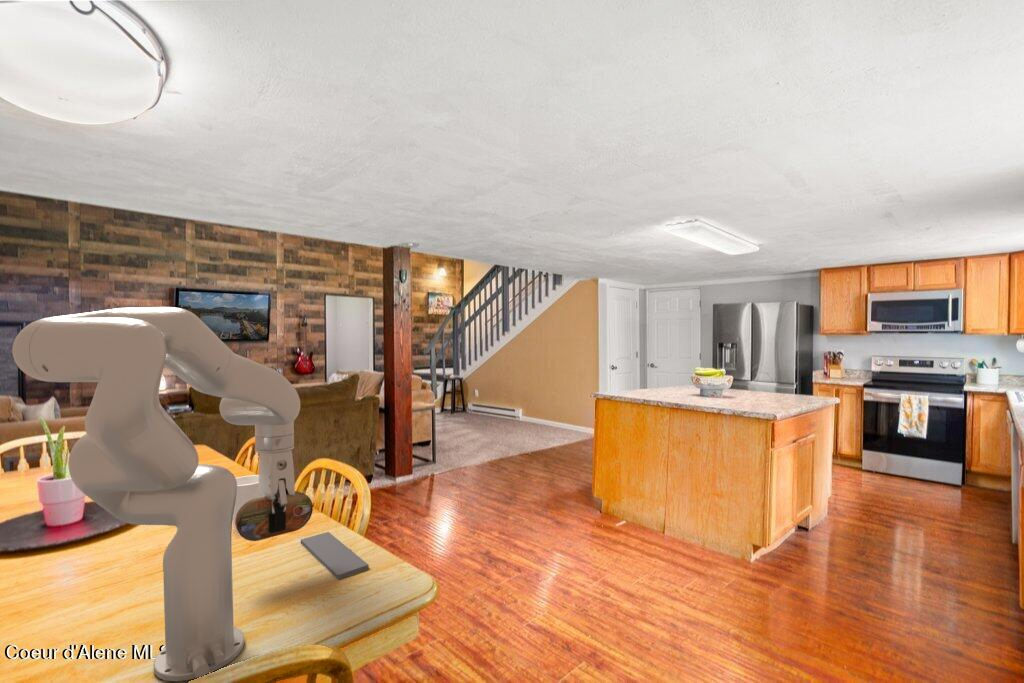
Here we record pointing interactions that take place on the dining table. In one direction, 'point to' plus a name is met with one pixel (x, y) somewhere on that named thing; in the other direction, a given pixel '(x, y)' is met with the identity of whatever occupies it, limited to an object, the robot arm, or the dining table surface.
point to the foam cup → (246, 492)
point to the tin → (256, 516)
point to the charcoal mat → (334, 555)
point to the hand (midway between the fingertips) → (275, 528)
